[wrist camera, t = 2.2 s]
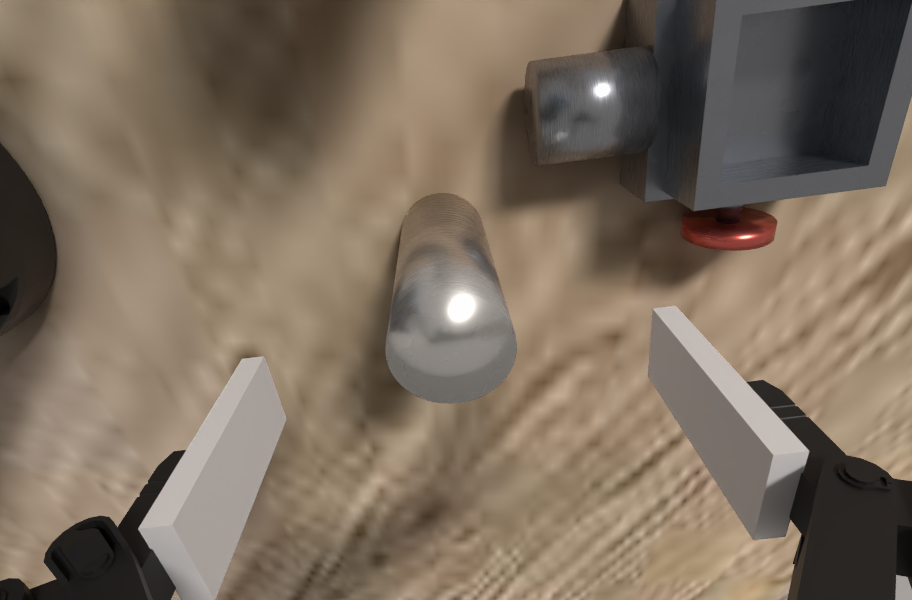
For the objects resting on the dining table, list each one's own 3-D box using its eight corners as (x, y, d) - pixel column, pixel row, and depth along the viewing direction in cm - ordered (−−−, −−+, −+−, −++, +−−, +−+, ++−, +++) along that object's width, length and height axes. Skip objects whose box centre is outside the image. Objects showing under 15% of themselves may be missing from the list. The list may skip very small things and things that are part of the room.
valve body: (531, 243, 29) (558, 294, 23) (519, 6, 23) (550, -5, 17) (792, 209, 28) (885, 252, 23) (843, -38, 23) (983, -64, 17)
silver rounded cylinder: (408, 275, 29) (397, 410, 18) (394, 198, 27) (373, 302, 16) (486, 265, 29) (520, 395, 18) (479, 188, 27) (512, 284, 16)
